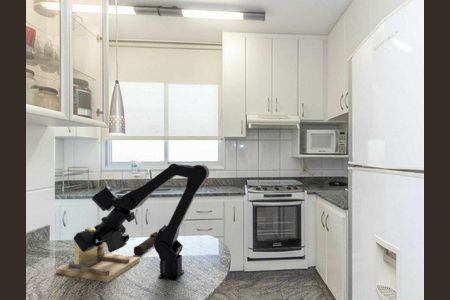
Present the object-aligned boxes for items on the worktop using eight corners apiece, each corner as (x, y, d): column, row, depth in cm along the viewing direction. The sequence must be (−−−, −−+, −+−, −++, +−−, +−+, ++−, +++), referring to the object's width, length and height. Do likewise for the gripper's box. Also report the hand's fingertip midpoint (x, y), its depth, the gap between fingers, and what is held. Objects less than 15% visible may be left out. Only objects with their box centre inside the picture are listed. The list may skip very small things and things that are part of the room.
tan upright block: (109, 256, 93) (110, 229, 94) (84, 269, 82) (84, 238, 83) (95, 254, 95) (95, 227, 96) (68, 267, 84) (69, 236, 85)
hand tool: (142, 256, 98) (142, 244, 98) (133, 255, 98) (133, 244, 99) (163, 240, 116) (163, 231, 116) (155, 240, 117) (155, 230, 117)
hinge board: (139, 261, 92) (139, 229, 93) (108, 282, 77) (108, 244, 77) (93, 255, 99) (94, 225, 99) (56, 273, 83) (56, 237, 84)
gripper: (107, 248, 73) (78, 280, 76) (144, 230, 91) (119, 256, 94) (87, 220, 76) (59, 252, 78) (127, 208, 94) (103, 234, 96)
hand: (88, 249), depth 87 cm, fingers closed, pressing on tan upright block
